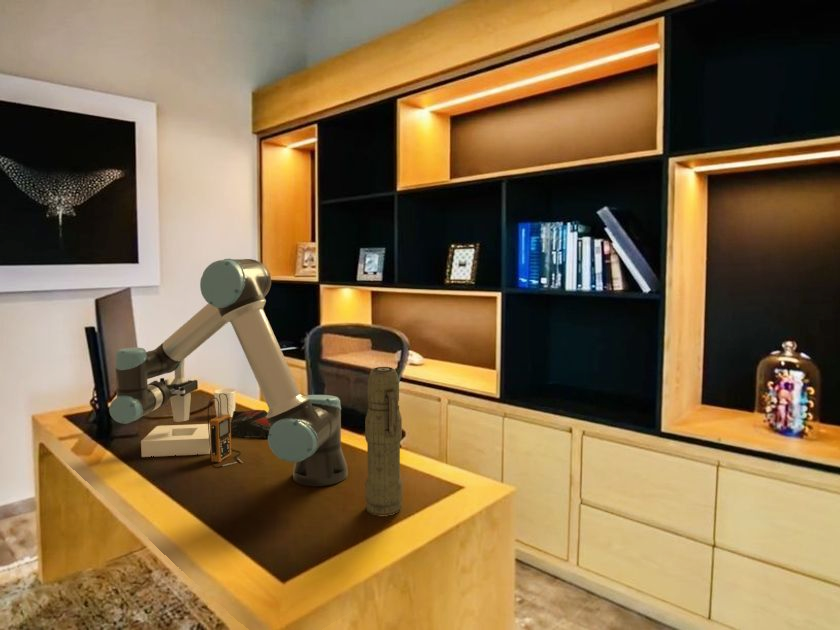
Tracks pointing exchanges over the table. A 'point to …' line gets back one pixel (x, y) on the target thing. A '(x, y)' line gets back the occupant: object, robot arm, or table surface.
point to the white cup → (225, 401)
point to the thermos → (383, 442)
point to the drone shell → (250, 423)
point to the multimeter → (220, 436)
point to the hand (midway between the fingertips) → (186, 379)
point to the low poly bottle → (180, 398)
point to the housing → (176, 440)
